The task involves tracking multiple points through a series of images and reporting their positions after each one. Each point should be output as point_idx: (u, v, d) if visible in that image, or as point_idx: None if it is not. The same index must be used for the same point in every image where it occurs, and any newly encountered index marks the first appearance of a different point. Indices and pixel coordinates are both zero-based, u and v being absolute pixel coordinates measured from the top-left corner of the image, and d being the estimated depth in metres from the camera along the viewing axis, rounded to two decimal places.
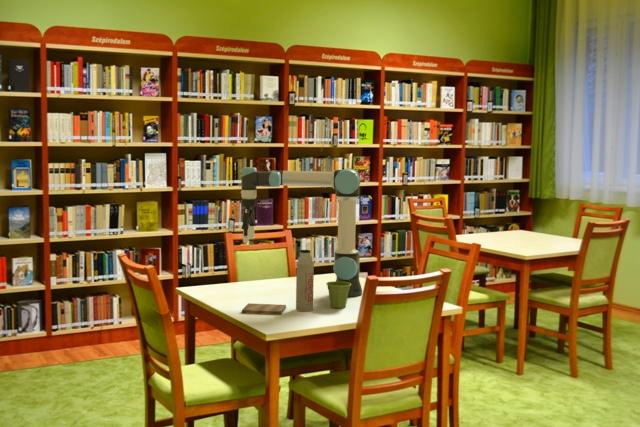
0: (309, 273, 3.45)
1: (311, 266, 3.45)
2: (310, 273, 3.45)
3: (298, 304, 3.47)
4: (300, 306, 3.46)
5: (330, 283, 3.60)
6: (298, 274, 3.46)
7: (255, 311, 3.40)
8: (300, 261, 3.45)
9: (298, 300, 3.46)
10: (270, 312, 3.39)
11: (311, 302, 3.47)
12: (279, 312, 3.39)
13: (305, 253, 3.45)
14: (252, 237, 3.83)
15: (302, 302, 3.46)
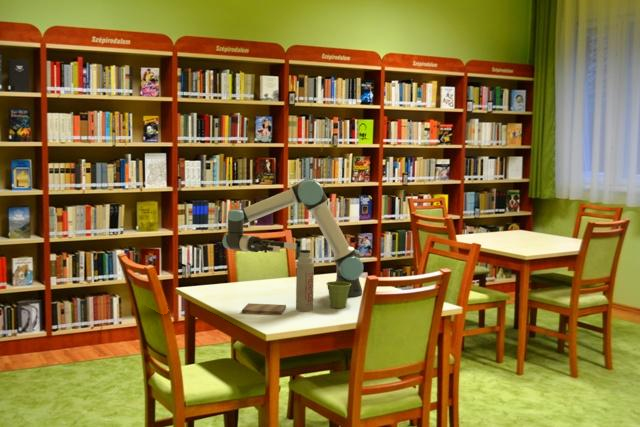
0: (309, 273, 3.45)
1: (311, 266, 3.45)
2: (310, 273, 3.45)
3: (298, 304, 3.47)
4: (300, 306, 3.46)
5: (330, 283, 3.60)
6: (298, 274, 3.46)
7: (255, 311, 3.40)
8: (300, 261, 3.45)
9: (298, 300, 3.46)
10: (270, 312, 3.39)
11: (311, 302, 3.47)
12: (279, 312, 3.39)
13: (305, 253, 3.45)
14: (294, 245, 3.58)
15: (302, 302, 3.46)
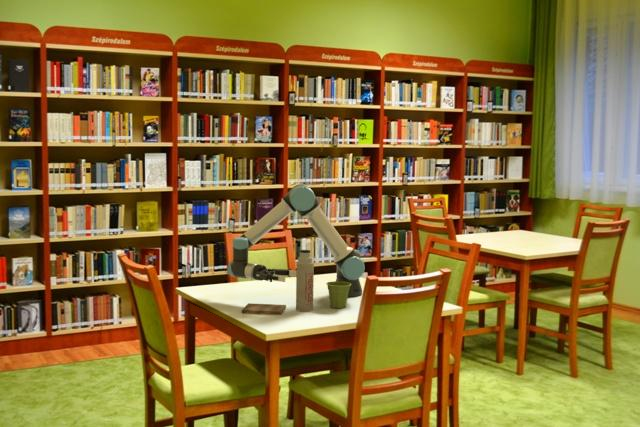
0: (309, 273, 3.45)
1: (311, 266, 3.45)
2: (310, 273, 3.45)
3: (298, 304, 3.47)
4: (300, 306, 3.46)
5: (330, 283, 3.60)
6: (298, 274, 3.46)
7: (255, 311, 3.40)
8: (300, 261, 3.45)
9: (298, 300, 3.46)
10: (270, 312, 3.39)
11: (311, 302, 3.47)
12: (279, 312, 3.39)
13: (305, 253, 3.45)
14: None
15: (302, 302, 3.46)
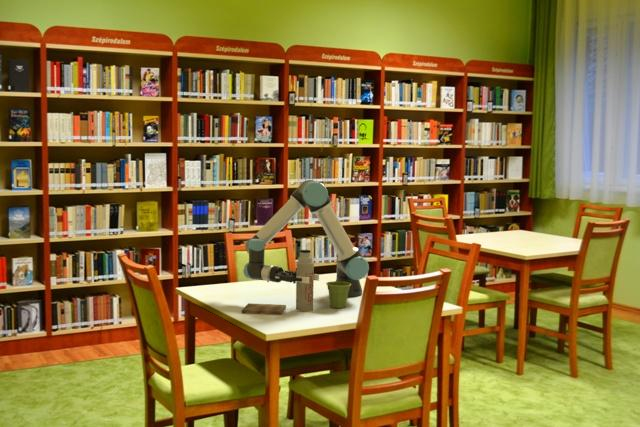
0: (309, 273, 3.45)
1: (311, 266, 3.45)
2: (310, 273, 3.45)
3: (298, 304, 3.47)
4: (300, 306, 3.46)
5: (330, 283, 3.60)
6: (298, 274, 3.46)
7: (255, 311, 3.40)
8: (300, 261, 3.45)
9: (298, 300, 3.46)
10: (270, 312, 3.39)
11: (311, 302, 3.47)
12: (279, 312, 3.39)
13: (305, 253, 3.45)
14: (316, 276, 3.49)
15: (302, 302, 3.46)
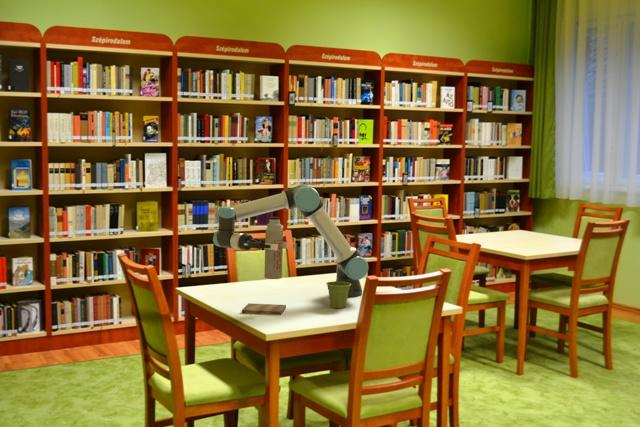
0: (278, 240, 3.41)
1: (280, 233, 3.41)
2: (279, 240, 3.41)
3: (266, 271, 3.43)
4: (268, 273, 3.42)
5: (330, 283, 3.60)
6: (267, 241, 3.42)
7: (255, 311, 3.40)
8: (269, 228, 3.41)
9: (267, 267, 3.42)
10: (270, 312, 3.39)
11: (280, 270, 3.43)
12: (279, 312, 3.39)
13: (274, 220, 3.41)
14: (286, 244, 3.46)
15: (270, 269, 3.42)
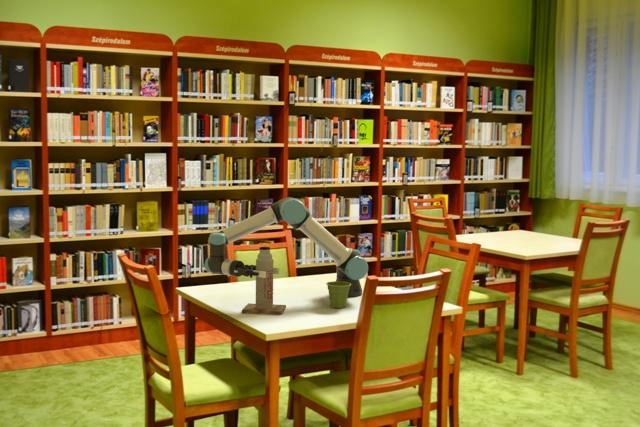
0: (268, 270, 3.42)
1: (270, 263, 3.42)
2: (269, 270, 3.42)
3: (257, 301, 3.44)
4: (259, 303, 3.43)
5: (330, 283, 3.60)
6: None
7: (255, 311, 3.40)
8: (259, 258, 3.42)
9: (258, 297, 3.43)
10: (270, 312, 3.39)
11: (271, 299, 3.44)
12: (279, 312, 3.39)
13: (264, 250, 3.42)
14: (277, 270, 3.48)
15: (261, 299, 3.42)
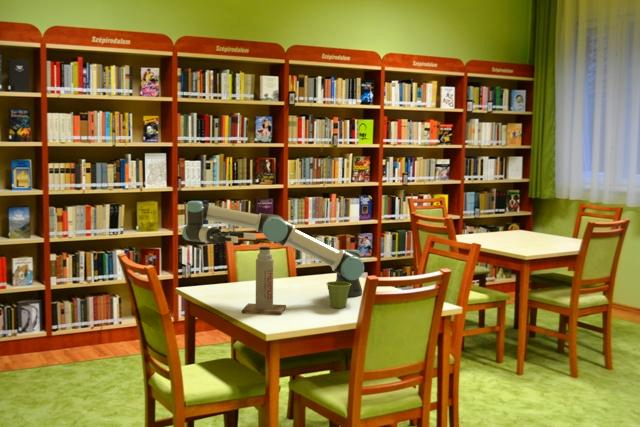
0: (268, 270, 3.42)
1: (270, 263, 3.42)
2: (269, 270, 3.42)
3: (257, 301, 3.44)
4: (259, 303, 3.43)
5: (330, 283, 3.60)
6: (257, 271, 3.42)
7: (255, 311, 3.40)
8: (259, 258, 3.42)
9: (258, 297, 3.43)
10: (270, 312, 3.39)
11: (271, 299, 3.44)
12: (279, 312, 3.39)
13: (264, 250, 3.42)
14: (253, 235, 3.54)
15: (261, 299, 3.42)
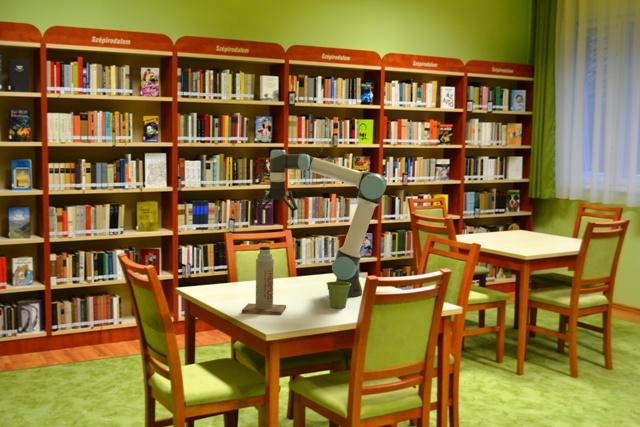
0: (268, 270, 3.42)
1: (270, 263, 3.42)
2: (269, 270, 3.42)
3: (257, 301, 3.44)
4: (259, 303, 3.43)
5: (330, 283, 3.60)
6: (257, 271, 3.42)
7: (255, 311, 3.40)
8: (259, 258, 3.42)
9: (258, 297, 3.43)
10: (270, 312, 3.39)
11: (271, 299, 3.44)
12: (279, 312, 3.39)
13: (264, 250, 3.42)
14: None
15: (261, 299, 3.42)
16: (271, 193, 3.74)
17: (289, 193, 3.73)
